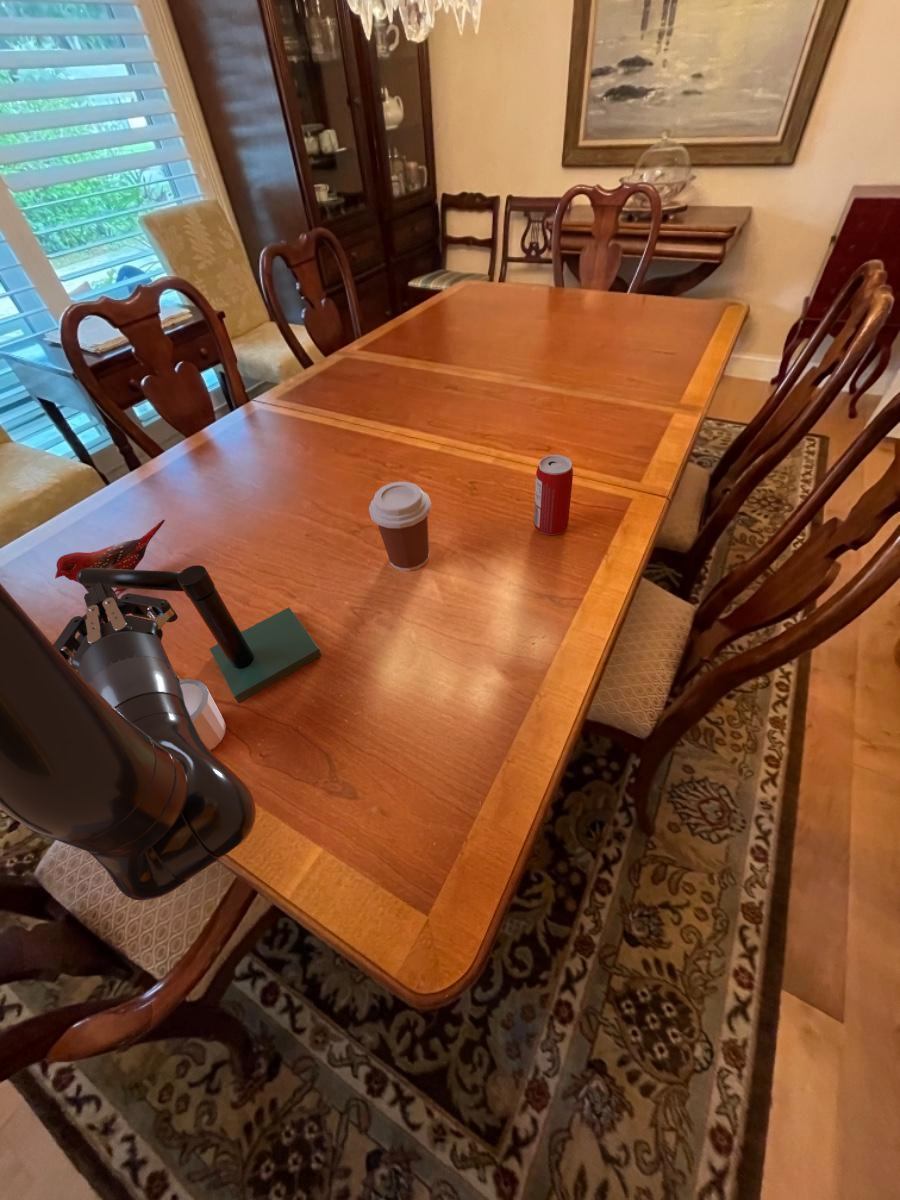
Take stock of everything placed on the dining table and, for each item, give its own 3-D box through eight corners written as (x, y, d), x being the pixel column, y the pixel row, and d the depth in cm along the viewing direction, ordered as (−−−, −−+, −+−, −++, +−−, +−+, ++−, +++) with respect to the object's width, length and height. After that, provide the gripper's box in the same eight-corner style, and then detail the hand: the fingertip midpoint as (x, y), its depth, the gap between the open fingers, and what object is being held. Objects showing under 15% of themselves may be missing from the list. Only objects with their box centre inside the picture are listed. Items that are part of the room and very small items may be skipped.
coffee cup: (426, 581, 81) (416, 518, 72) (371, 571, 83) (355, 509, 75) (445, 543, 87) (438, 480, 78) (394, 535, 89) (381, 473, 81)
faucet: (238, 703, 68) (189, 629, 58) (213, 654, 74) (164, 580, 64) (322, 655, 73) (290, 579, 62) (292, 613, 79) (258, 537, 68)
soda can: (574, 528, 87) (582, 464, 78) (547, 541, 85) (551, 477, 76) (554, 511, 90) (559, 448, 81) (527, 523, 89) (529, 459, 80)
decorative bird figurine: (81, 611, 83) (40, 563, 75) (176, 545, 92) (148, 497, 85) (91, 618, 81) (50, 570, 74) (186, 550, 91) (158, 502, 84)
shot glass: (162, 749, 65) (132, 719, 60) (199, 703, 69) (175, 671, 64) (206, 767, 62) (179, 737, 57) (242, 718, 67) (220, 687, 62)
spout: (85, 603, 64) (65, 578, 61) (101, 584, 66) (82, 560, 63) (213, 610, 62) (198, 585, 59) (225, 590, 64) (211, 565, 61)
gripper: (184, 630, 51) (140, 540, 61) (33, 705, 46) (13, 595, 56) (215, 676, 56) (170, 587, 66) (83, 747, 51) (56, 640, 62)
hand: (98, 590), depth 61 cm, fingers closed
